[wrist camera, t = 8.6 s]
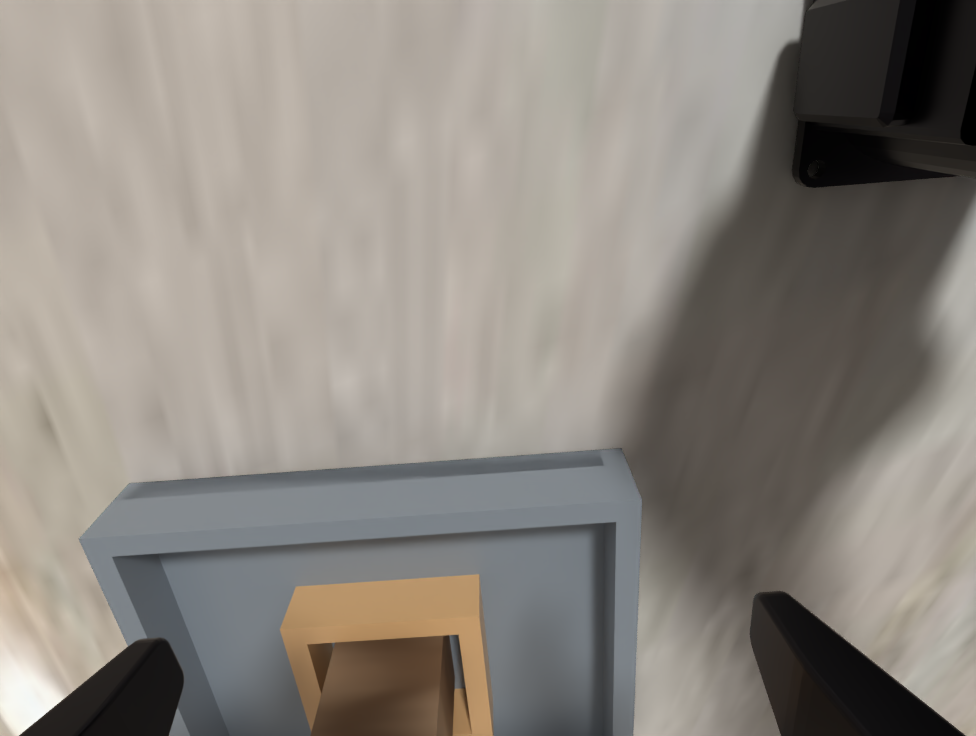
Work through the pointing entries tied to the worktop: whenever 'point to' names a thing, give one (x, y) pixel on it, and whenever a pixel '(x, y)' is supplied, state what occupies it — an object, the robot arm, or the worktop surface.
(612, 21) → the worktop surface
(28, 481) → the worktop surface
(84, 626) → the worktop surface
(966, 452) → the worktop surface
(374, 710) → the brown rectangular block
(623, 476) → the box
